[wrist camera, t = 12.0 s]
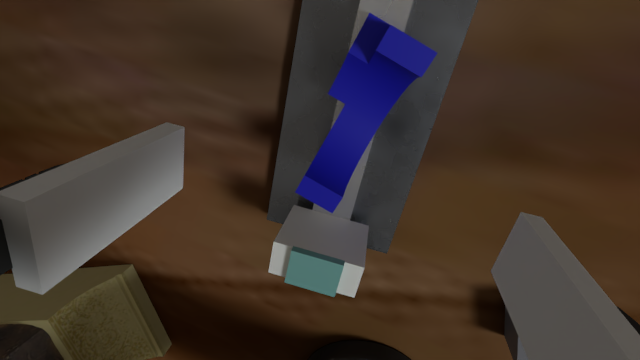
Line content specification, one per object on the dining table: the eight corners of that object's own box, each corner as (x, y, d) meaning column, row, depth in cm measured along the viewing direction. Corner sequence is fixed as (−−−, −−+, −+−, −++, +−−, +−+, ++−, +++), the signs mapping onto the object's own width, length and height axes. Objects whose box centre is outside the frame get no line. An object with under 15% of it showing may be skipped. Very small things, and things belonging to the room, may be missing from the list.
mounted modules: (360, 252, 32) (353, 302, 26) (288, 232, 33) (266, 276, 27) (468, -89, 21) (499, -134, 15) (356, -111, 21) (343, -163, 16)
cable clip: (371, 14, 24) (366, 10, 19) (427, 47, 24) (437, 52, 19) (297, 153, 29) (276, 181, 24) (342, 179, 29) (332, 213, 24)
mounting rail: (386, 247, 34) (386, 259, 32) (269, 214, 35) (263, 224, 33) (500, -71, 22) (510, -79, 21) (323, -106, 23) (317, -117, 22)
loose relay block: (570, 335, 34) (591, 371, 30) (503, 334, 35) (516, 368, 32) (575, 295, 32) (598, 328, 29) (504, 295, 34) (518, 327, 30)
